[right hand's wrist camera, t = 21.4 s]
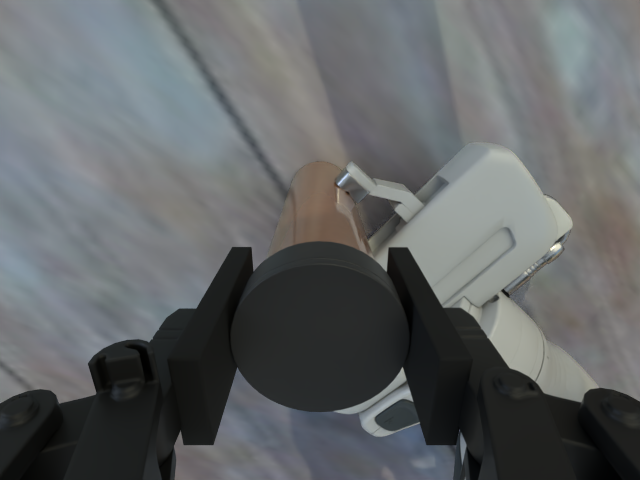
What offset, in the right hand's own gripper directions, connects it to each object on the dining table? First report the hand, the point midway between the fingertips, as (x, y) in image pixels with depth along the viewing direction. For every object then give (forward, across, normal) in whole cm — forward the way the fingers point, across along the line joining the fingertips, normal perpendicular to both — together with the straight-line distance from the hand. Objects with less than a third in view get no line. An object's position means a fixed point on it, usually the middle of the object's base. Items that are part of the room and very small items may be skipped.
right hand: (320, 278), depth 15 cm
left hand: (+8, -1, +1) cm, 8 cm away
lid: (-4, 0, 0) cm, 4 cm away
